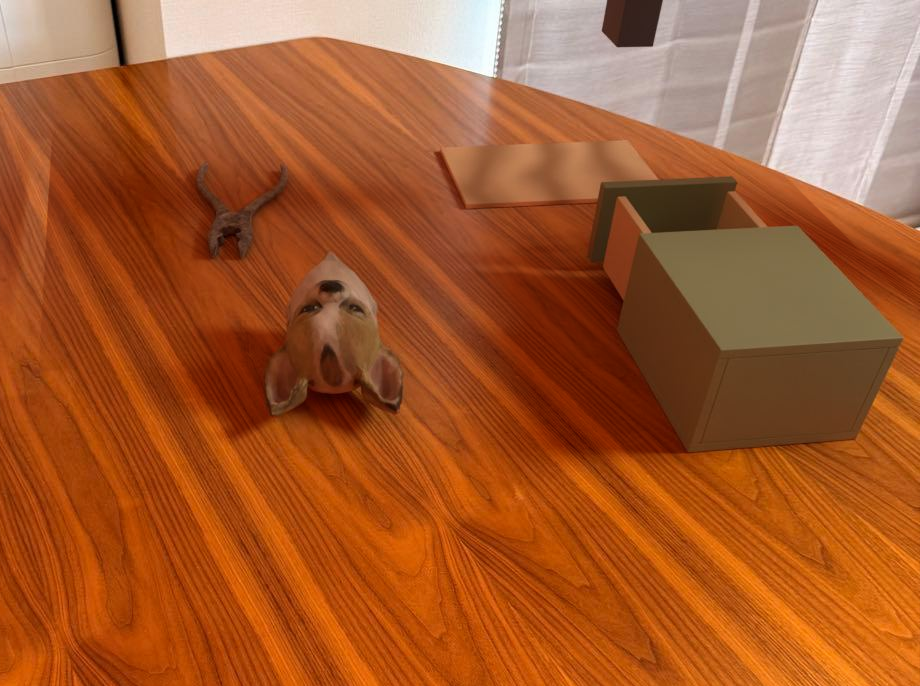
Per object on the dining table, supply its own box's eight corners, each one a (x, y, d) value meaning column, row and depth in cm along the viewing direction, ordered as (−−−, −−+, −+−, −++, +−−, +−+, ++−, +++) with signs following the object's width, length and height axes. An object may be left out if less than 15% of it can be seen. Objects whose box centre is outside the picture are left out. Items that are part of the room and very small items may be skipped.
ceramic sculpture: (396, 232, 77) (410, 348, 67) (393, 323, 84) (405, 441, 74) (262, 234, 77) (255, 351, 67) (269, 325, 83) (264, 444, 73)
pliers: (282, 155, 105) (312, 244, 92) (283, 163, 106) (312, 252, 92) (192, 161, 104) (209, 252, 90) (193, 169, 104) (210, 261, 91)
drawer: (573, 235, 94) (586, 161, 89) (694, 229, 96) (714, 156, 91) (642, 349, 81) (662, 270, 76) (782, 340, 82) (811, 261, 77)
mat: (626, 144, 112) (627, 139, 112) (670, 199, 102) (671, 194, 102) (439, 151, 110) (440, 147, 109) (466, 208, 100) (466, 204, 99)
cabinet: (616, 330, 84) (638, 233, 78) (763, 321, 86) (797, 225, 79) (687, 453, 73) (720, 349, 66) (856, 439, 74) (904, 337, 68)
